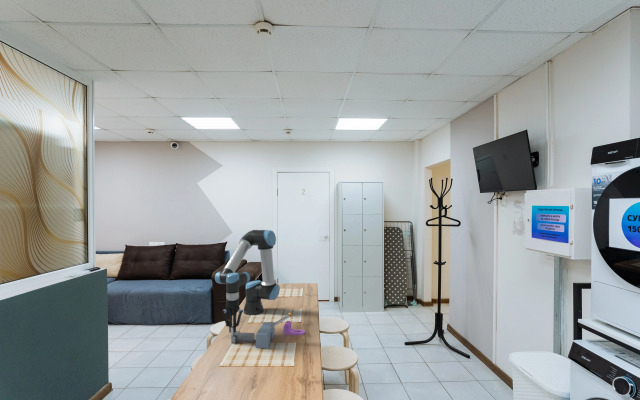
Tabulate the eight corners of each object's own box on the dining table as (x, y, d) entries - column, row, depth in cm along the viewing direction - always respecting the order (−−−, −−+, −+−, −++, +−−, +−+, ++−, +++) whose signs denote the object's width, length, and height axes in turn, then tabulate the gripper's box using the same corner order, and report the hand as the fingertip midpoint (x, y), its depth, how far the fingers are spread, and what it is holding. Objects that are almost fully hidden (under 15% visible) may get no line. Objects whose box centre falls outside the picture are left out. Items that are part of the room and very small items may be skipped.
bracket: (283, 334, 191) (283, 323, 191) (285, 331, 197) (285, 320, 197) (303, 335, 190) (303, 324, 190) (305, 331, 195) (305, 321, 196)
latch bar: (272, 327, 183) (270, 323, 184) (293, 314, 183) (291, 311, 183) (272, 328, 181) (269, 325, 181) (292, 316, 180) (290, 312, 180)
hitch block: (263, 334, 192) (263, 322, 192) (274, 334, 191) (274, 322, 191) (255, 347, 174) (255, 334, 174) (267, 348, 173) (267, 334, 173)
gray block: (236, 337, 188) (236, 330, 188) (255, 337, 187) (255, 331, 187) (231, 343, 179) (231, 336, 179) (251, 344, 178) (251, 337, 178)
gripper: (219, 300, 181) (219, 340, 180) (241, 301, 180) (240, 340, 179) (224, 296, 188) (224, 334, 188) (245, 297, 187) (244, 335, 187)
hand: (232, 337), depth 184 cm, fingers closed
